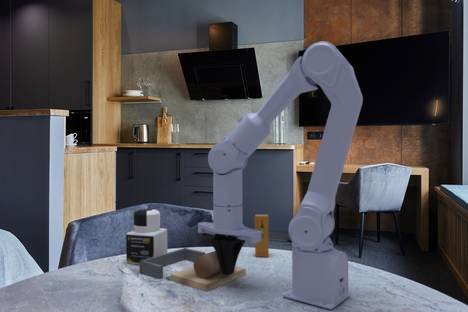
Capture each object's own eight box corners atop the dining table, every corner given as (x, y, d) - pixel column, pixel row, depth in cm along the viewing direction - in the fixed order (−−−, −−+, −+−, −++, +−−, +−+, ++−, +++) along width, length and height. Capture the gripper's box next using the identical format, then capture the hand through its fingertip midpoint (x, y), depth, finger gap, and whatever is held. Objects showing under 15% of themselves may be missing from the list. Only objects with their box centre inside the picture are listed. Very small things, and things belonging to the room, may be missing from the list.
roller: (217, 261, 85) (232, 272, 83) (191, 270, 79) (206, 283, 76) (223, 243, 84) (238, 254, 81) (197, 251, 78) (212, 264, 75)
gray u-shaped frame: (205, 263, 91) (205, 252, 91) (160, 278, 81) (159, 266, 80) (185, 258, 95) (185, 247, 95) (139, 272, 85) (139, 260, 85)
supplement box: (268, 253, 99) (268, 213, 99) (268, 257, 95) (268, 216, 95) (255, 253, 99) (255, 213, 99) (254, 257, 96) (254, 216, 96)
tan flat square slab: (245, 274, 83) (245, 268, 83) (207, 291, 74) (206, 284, 74) (205, 264, 90) (205, 259, 90) (165, 278, 81) (165, 272, 81)
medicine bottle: (125, 263, 91) (125, 211, 91) (141, 255, 98) (141, 207, 98) (153, 266, 89) (153, 213, 89) (168, 257, 96) (167, 208, 96)
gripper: (270, 205, 76) (270, 275, 77) (213, 199, 85) (214, 261, 86) (248, 210, 71) (248, 285, 71) (190, 203, 80) (191, 270, 80)
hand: (228, 273), depth 78 cm, fingers closed
